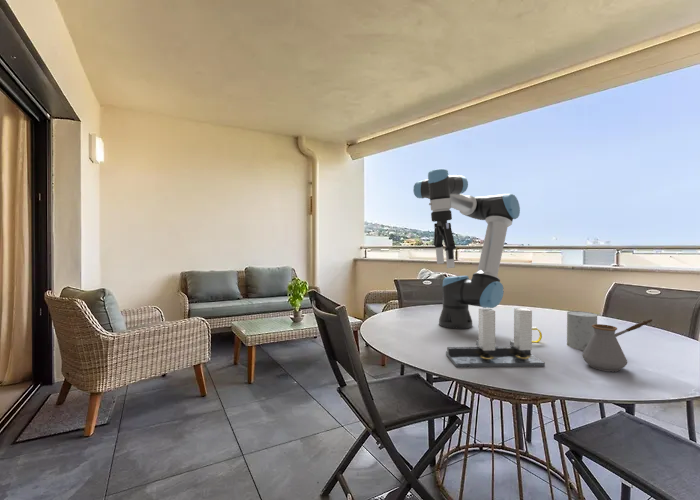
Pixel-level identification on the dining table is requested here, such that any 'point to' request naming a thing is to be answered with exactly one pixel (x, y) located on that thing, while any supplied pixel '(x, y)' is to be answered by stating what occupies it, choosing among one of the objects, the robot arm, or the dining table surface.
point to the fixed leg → (522, 330)
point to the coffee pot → (607, 347)
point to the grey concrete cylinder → (580, 328)
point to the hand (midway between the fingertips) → (445, 265)
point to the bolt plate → (492, 357)
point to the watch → (540, 335)
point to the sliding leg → (486, 330)
